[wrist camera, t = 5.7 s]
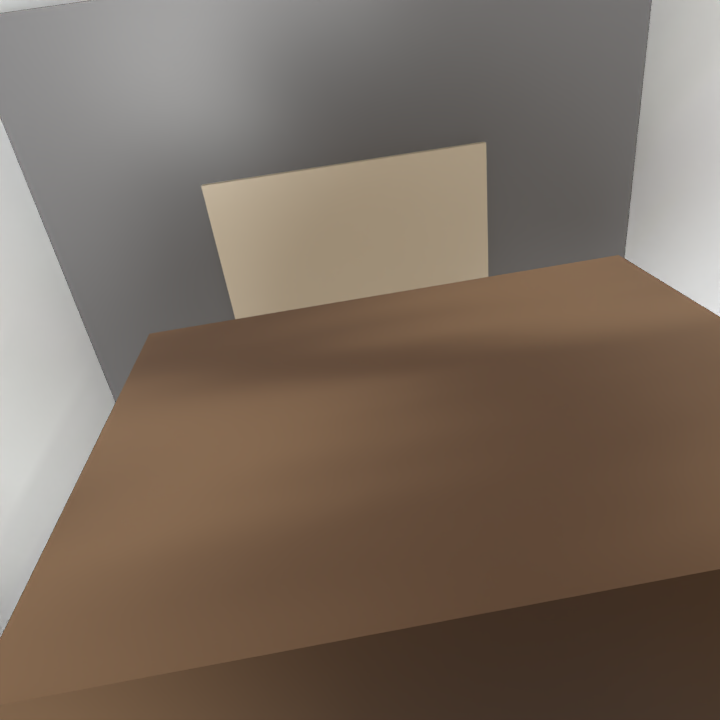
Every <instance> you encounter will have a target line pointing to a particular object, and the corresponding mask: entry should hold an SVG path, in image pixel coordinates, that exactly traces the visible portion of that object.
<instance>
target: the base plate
mask: <svg viewBox="0 0 720 720" xmlns="http://www.w3.org/2000/svg"><path fill="white" fill-rule="evenodd" d="M651 2H652V0H91V1H83V2H76V3H69V4H62V5H55V6H48V7H40V8H33V9H26V10H19V11H12V12H5V13H0V118H1V120H2V123H3V125H4V128H5V130H6V133H7V135H8V137H9V140H10V142H11V145H12V147H13V150H14V152H15V155H16V157H17V160H18V162H19V165H20V167H21V170H22V172H23V175H24V177H25V180H26V182H27V185H28V187H29V189H30V192H31V194H32V197H33V199H34V202H35V204H36V207H37V209H38V212H39V214H40V217H41V219H42V222H43V224H44V227H45V229H46V232H47V234H48V236H49V239H50V241H51V244H52V246H53V249H54V251H55V254H56V256H57V259H58V261H59V264H60V266H61V269H62V271H63V274H64V276H65V279H66V281H67V284H68V286H69V288H70V291H71V293H72V296H73V298H74V301H75V303H76V306H77V308H78V311H79V313H80V316H81V318H82V321H83V323H84V326H85V328H86V331H87V333H88V336H89V338H90V340H91V343H92V345H93V348H94V350H95V353H96V355H97V358H98V360H99V363H100V365H101V368H102V370H103V373H104V375H105V378H106V380H107V383H108V385H109V387H110V390H111V392H112V395H113V397H114V400H115V402H116V401H117V399H118V397H119V395H120V393H121V391H122V389H123V387H124V385H125V382H126V380H127V378H128V376H129V374H130V372H131V370H132V368H133V366H134V364H135V362H136V360H137V358H138V356H139V354H140V352H141V350H142V348H143V346H144V344H145V342H146V340H147V337H148V335H149V334H150V333H156V332H162V331H168V330H174V329H180V328H186V327H192V326H198V325H204V324H210V323H216V322H222V321H228V320H234V319H240V318H246V317H252V316H258V315H264V314H270V313H276V312H282V311H288V310H294V309H300V308H306V307H311V306H317V305H323V304H329V303H335V302H341V301H347V300H353V299H359V298H365V297H371V296H377V295H383V294H389V293H395V292H401V291H407V290H413V289H419V288H425V287H431V286H437V285H443V284H449V283H455V282H461V281H467V280H473V279H479V278H485V277H491V276H497V275H502V274H508V273H514V272H520V271H526V270H532V269H538V268H544V267H550V266H556V265H562V264H568V263H574V262H580V261H586V260H592V259H598V258H604V257H610V256H616V255H619V256H621V257H623V258H624V256H625V246H626V237H627V227H628V218H629V209H630V199H631V190H632V180H633V171H634V162H635V152H636V143H637V133H638V124H639V115H640V105H641V96H642V86H643V77H644V67H645V58H646V49H647V39H648V30H649V20H650V11H651Z"/></svg>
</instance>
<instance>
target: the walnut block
mask: <svg viewBox="0 0 720 720" xmlns="http://www.w3.org/2000/svg"><path fill="white" fill-rule="evenodd" d="M0 720H720V317H719V316H718V315H716V314H714V313H713V312H711V311H709V310H708V309H706V308H704V307H703V306H701V305H700V304H698V303H696V302H695V301H693V300H691V299H690V298H688V297H686V296H685V295H683V294H682V293H680V292H678V291H677V290H675V289H673V288H672V287H670V286H668V285H667V284H665V283H664V282H662V281H660V280H659V279H657V278H655V277H654V276H652V275H650V274H649V273H647V272H646V271H644V270H642V269H641V268H639V267H637V266H636V265H634V264H633V263H631V262H629V261H628V260H626V259H624V258H623V257H621V256H619V255H616V256H610V257H604V258H598V259H592V260H586V261H580V262H574V263H568V264H562V265H556V266H550V267H544V268H538V269H532V270H526V271H520V272H514V273H508V274H502V275H497V276H491V277H485V278H479V279H473V280H467V281H461V282H455V283H449V284H443V285H437V286H431V287H425V288H419V289H413V290H407V291H401V292H395V293H389V294H383V295H377V296H371V297H365V298H359V299H353V300H347V301H341V302H335V303H329V304H323V305H317V306H311V307H306V308H300V309H294V310H288V311H282V312H276V313H270V314H264V315H258V316H252V317H246V318H240V319H234V320H228V321H222V322H216V323H210V324H204V325H198V326H192V327H186V328H180V329H174V330H168V331H162V332H156V333H150V334H149V335H148V337H147V340H146V342H145V344H144V346H143V348H142V350H141V352H140V354H139V356H138V358H137V360H136V362H135V364H134V366H133V368H132V370H131V372H130V374H129V376H128V378H127V380H126V382H125V385H124V387H123V389H122V391H121V393H120V395H119V397H118V399H117V401H116V403H115V405H114V407H113V409H112V411H111V413H110V415H109V417H108V419H107V421H106V423H105V425H104V427H103V429H102V432H101V434H100V436H99V438H98V440H97V442H96V444H95V446H94V448H93V450H92V452H91V454H90V456H89V458H88V460H87V462H86V464H85V466H84V468H83V470H82V472H81V474H80V477H79V479H78V481H77V483H76V485H75V487H74V489H73V491H72V493H71V495H70V497H69V499H68V501H67V503H66V505H65V507H64V509H63V511H62V513H61V515H60V517H59V519H58V522H57V524H56V526H55V528H54V530H53V532H52V534H51V536H50V538H49V540H48V542H47V544H46V546H45V548H44V550H43V552H42V554H41V556H40V558H39V560H38V562H37V564H36V566H35V569H34V571H33V573H32V575H31V577H30V579H29V581H28V583H27V585H26V587H25V589H24V591H23V593H22V595H21V597H20V599H19V601H18V603H17V605H16V607H15V609H14V611H13V614H12V616H11V618H10V620H9V622H8V624H7V626H6V628H5V630H4V632H3V634H2V636H1V638H0Z"/></svg>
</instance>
